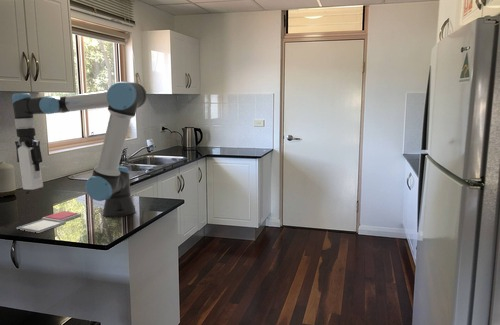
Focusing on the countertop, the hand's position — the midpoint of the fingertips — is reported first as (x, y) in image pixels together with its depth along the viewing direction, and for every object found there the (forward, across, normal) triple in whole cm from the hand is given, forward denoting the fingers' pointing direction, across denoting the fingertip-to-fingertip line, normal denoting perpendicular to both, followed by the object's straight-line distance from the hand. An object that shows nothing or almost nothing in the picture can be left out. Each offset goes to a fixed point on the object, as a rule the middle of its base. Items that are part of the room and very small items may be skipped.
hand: (31, 177), depth 189 cm
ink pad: (+21, -9, -6) cm, 23 cm away
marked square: (+21, -10, +6) cm, 24 cm away
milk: (+5, 0, 0) cm, 5 cm away
